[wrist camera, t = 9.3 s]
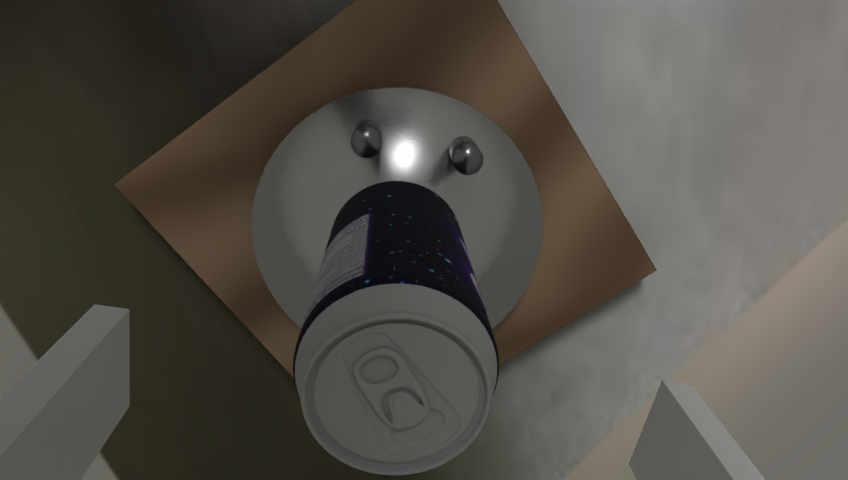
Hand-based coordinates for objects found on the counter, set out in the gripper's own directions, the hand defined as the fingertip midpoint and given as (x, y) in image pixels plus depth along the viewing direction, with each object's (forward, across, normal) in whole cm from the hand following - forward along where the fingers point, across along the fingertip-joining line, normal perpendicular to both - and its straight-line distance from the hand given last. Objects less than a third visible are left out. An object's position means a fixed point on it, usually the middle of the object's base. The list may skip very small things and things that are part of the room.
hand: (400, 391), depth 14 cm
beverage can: (+12, 0, -1) cm, 13 cm away
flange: (+13, 0, -1) cm, 13 cm away
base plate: (+15, 0, -1) cm, 15 cm away
